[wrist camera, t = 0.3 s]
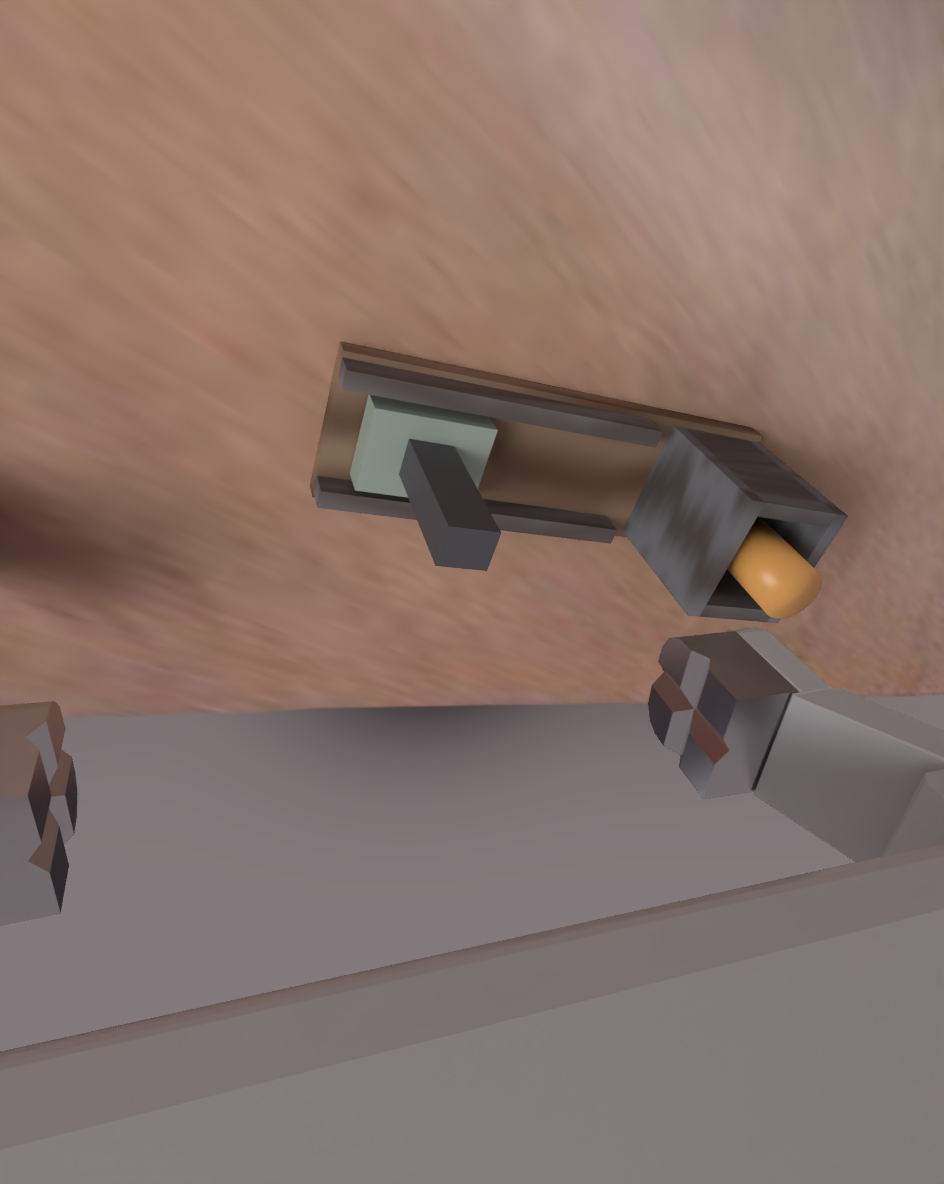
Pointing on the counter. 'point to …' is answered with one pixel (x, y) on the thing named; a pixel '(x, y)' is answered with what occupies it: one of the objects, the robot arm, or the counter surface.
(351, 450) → the rail
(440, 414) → the carriage
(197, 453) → the counter surface
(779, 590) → the button
